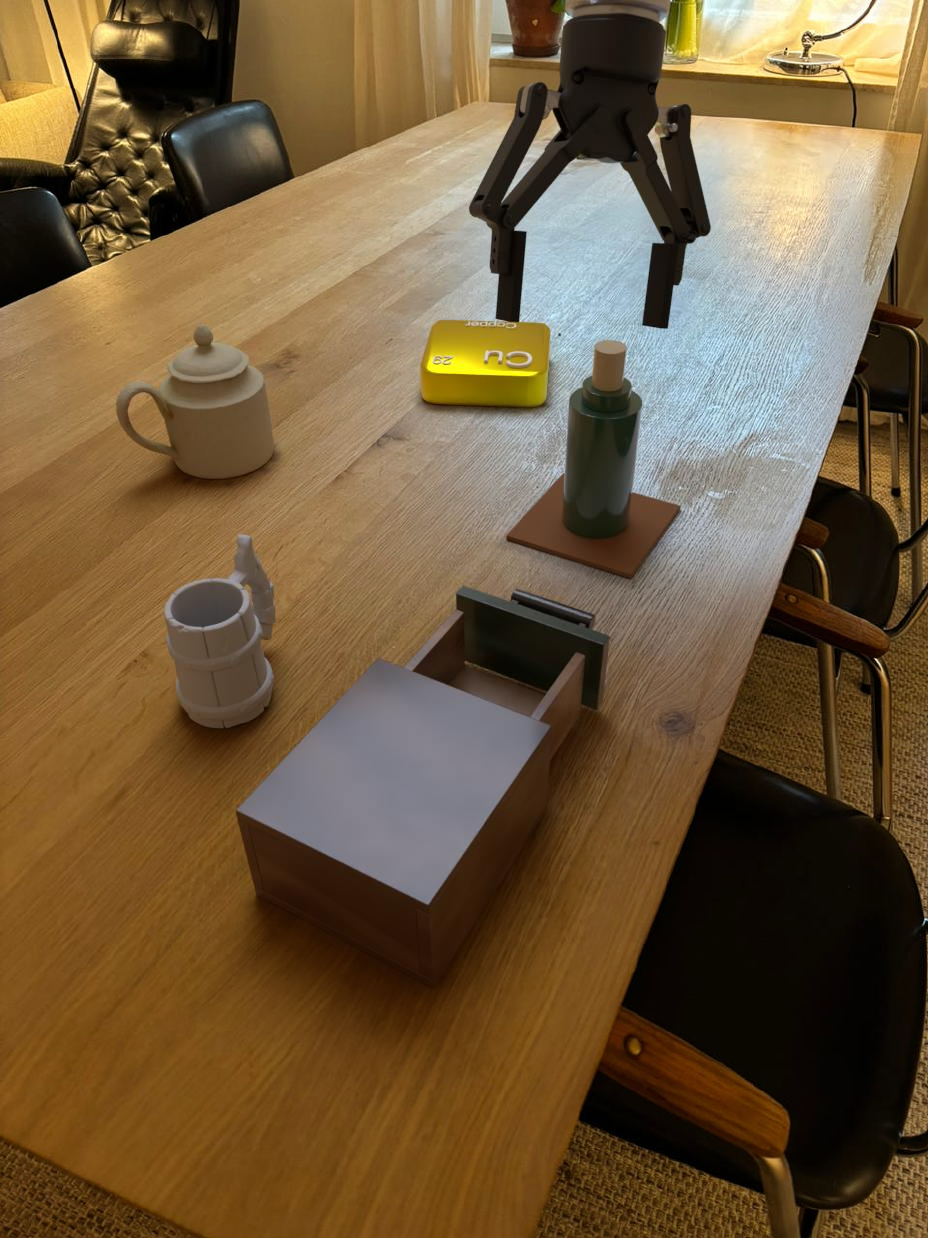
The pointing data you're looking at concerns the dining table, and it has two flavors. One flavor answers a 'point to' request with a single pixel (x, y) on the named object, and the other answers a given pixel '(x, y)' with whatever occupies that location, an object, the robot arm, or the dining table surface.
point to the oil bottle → (601, 447)
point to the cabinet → (398, 816)
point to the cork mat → (607, 554)
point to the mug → (223, 643)
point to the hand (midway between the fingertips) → (583, 324)
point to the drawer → (520, 656)
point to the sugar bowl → (208, 411)
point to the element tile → (486, 363)
